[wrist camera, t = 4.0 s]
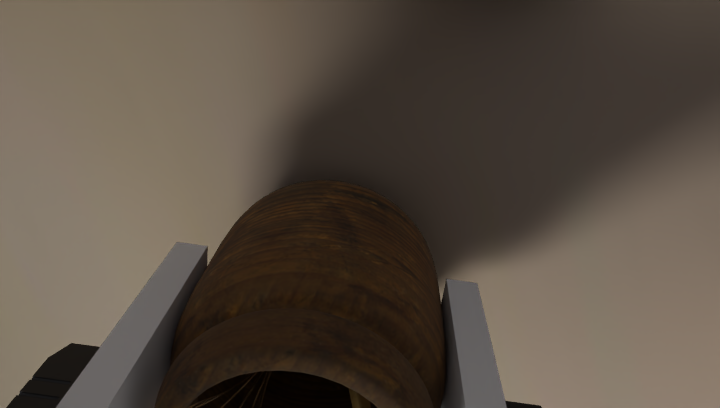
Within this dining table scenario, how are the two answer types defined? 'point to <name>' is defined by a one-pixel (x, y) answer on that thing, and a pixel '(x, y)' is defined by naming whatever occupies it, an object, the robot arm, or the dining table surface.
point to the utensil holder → (313, 309)
